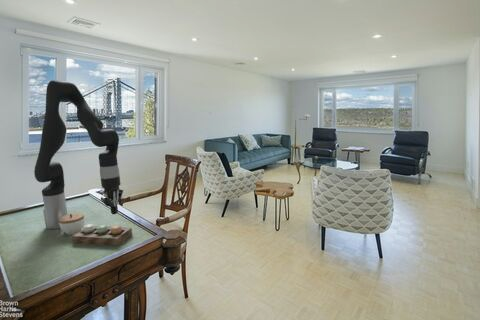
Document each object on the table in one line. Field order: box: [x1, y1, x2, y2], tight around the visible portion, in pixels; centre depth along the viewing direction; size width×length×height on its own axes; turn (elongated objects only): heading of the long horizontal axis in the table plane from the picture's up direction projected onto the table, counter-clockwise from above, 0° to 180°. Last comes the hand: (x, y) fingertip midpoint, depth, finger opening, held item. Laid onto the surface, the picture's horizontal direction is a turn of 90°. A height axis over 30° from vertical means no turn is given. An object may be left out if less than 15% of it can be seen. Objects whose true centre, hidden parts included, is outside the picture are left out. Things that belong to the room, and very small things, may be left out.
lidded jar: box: [58, 212, 85, 236], centre depth 132 cm, size 11×11×9 cm
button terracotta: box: [110, 225, 122, 235], centre depth 122 cm, size 4×4×2 cm
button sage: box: [97, 224, 109, 234], centre depth 124 cm, size 4×4×2 cm
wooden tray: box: [71, 225, 133, 247], centre depth 124 cm, size 22×11×3 cm, turn 80°
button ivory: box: [82, 223, 95, 233], centre depth 125 cm, size 4×4×2 cm
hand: (114, 213), depth 121 cm, fingers closed
